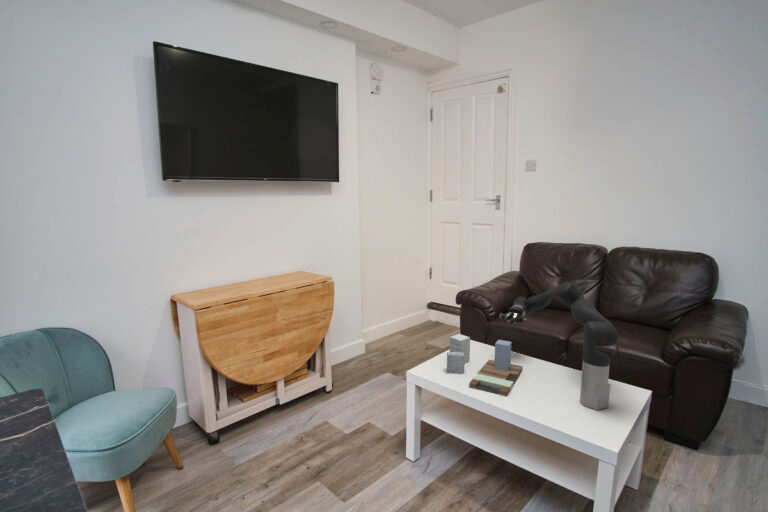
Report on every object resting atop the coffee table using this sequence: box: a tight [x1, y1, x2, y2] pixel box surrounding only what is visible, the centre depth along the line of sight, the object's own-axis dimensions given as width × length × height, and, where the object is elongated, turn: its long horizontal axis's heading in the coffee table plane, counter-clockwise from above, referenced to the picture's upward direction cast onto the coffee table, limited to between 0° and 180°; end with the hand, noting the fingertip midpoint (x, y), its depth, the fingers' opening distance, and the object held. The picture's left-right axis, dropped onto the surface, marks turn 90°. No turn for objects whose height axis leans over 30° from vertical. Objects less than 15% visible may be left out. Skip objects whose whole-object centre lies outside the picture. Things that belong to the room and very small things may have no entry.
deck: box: [468, 359, 524, 397], centre depth 181 cm, size 30×16×2 cm, turn 150°
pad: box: [472, 373, 514, 392], centre depth 175 cm, size 6×16×2 cm, turn 60°
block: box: [494, 339, 512, 371], centre depth 188 cm, size 6×6×12 cm
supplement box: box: [449, 333, 471, 364], centre depth 200 cm, size 7×7×13 cm
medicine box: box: [446, 351, 465, 374], centre depth 188 cm, size 8×4×9 cm, turn 84°
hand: (508, 321), depth 193 cm, fingers closed
